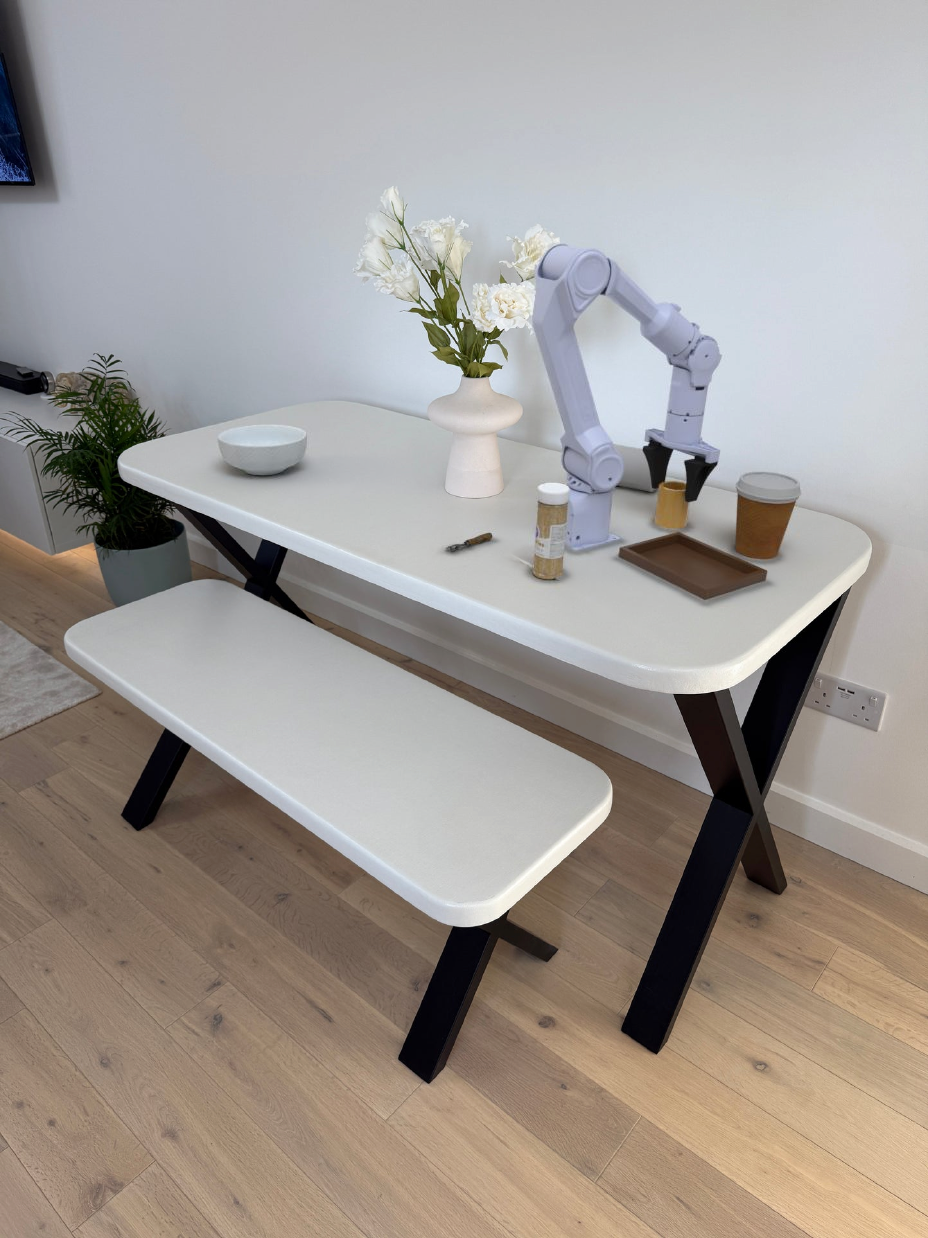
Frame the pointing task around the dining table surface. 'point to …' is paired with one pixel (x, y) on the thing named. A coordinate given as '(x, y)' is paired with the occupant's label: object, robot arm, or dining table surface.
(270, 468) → the cereal bowl
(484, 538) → the can opener
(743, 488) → the disposable coffee cup
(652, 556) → the tray
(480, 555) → the dining table surface
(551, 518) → the sprinkles bottle
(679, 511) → the cup
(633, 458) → the can
